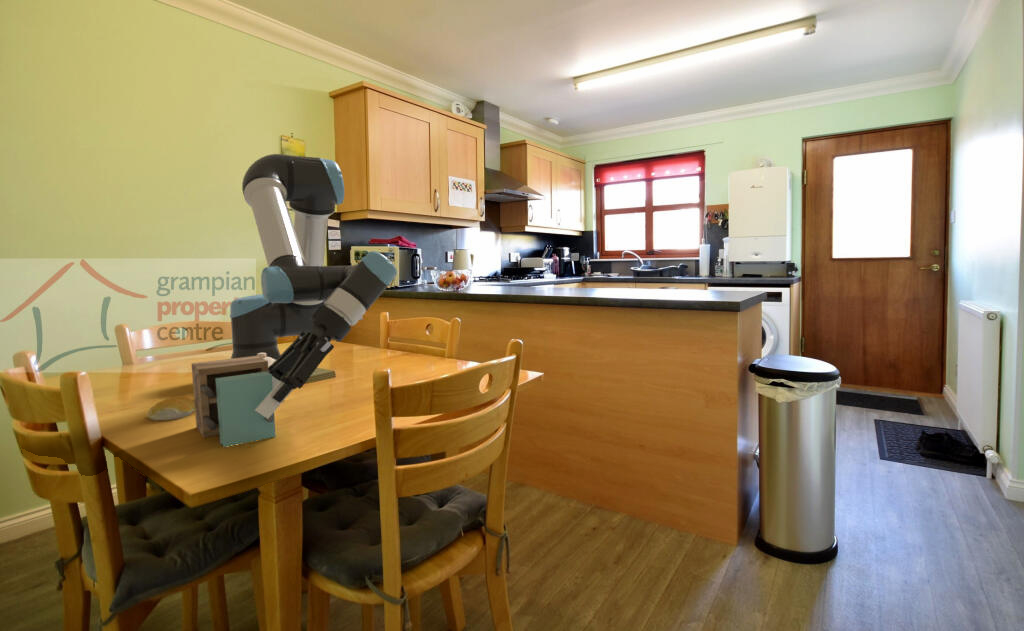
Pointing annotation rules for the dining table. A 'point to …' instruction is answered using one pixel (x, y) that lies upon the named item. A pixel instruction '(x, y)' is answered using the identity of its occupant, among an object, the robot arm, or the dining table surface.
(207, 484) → the dining table surface
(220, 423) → the door
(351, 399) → the dining table surface
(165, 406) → the bread roll
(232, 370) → the cabinet
